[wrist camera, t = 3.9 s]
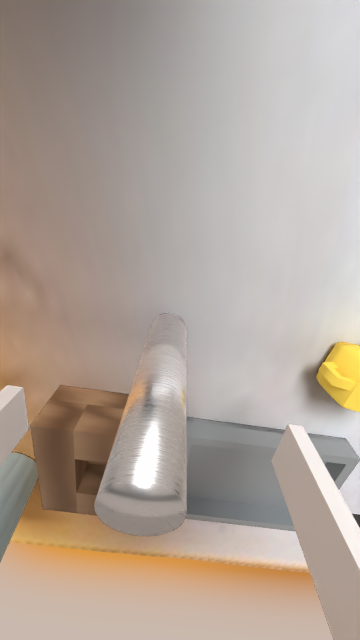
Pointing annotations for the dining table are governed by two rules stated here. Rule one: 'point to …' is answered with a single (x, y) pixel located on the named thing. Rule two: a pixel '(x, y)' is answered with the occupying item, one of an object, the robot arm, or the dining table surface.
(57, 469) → the wooden square hole block
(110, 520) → the pin
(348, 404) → the teapot
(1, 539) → the cup
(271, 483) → the tray
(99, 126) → the dining table surface
